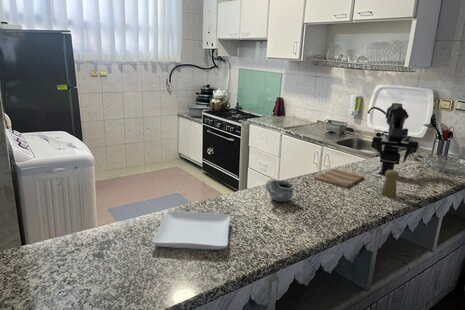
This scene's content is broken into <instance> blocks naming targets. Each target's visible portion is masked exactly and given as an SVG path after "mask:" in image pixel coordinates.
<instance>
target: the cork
mask: <svg viewBox="0 0 465 310" xmlns="http://www.w3.org/2000/svg"><path fill="white" fill-rule="evenodd" d="M384 176H385V179H384V183H383V185H382V188H381V191H380V195H381V196H383V197H385V196H386V198H390V197H391V199H393V197H394V198H396V197H397V179H398V178H399V176H400V175H399V171H397V170H395V169H394V170H387V171H386V172H385V175H384Z"/></svg>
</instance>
